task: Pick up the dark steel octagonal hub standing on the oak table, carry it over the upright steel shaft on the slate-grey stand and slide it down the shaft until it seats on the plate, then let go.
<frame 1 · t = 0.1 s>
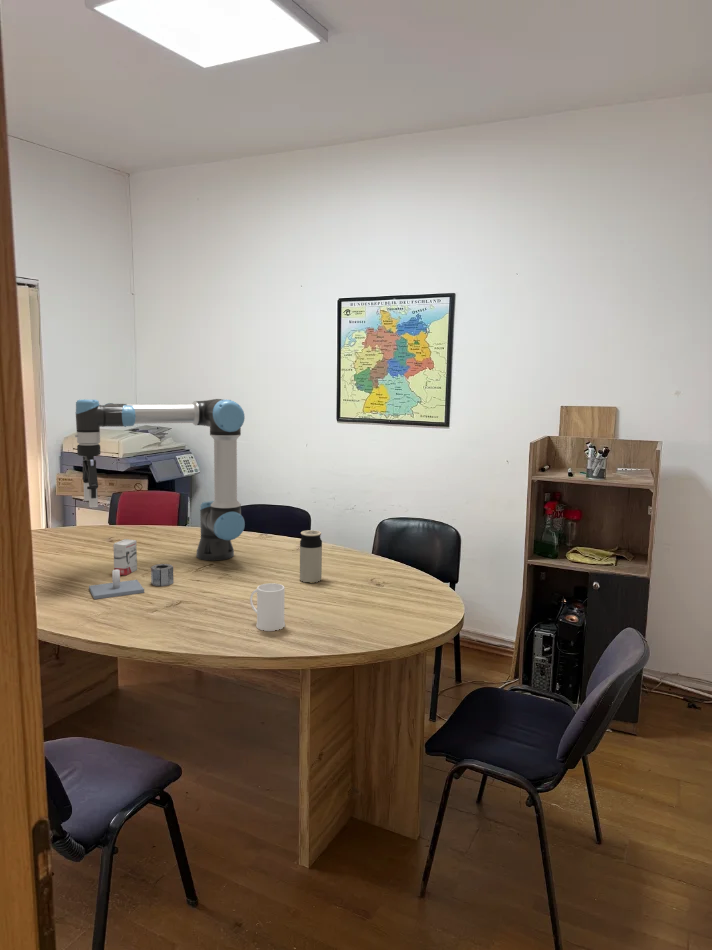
hand: (90, 504, 232), 28 cm above the table, fingers open, 13 cm apart
ink box: (125, 572, 247), on the table
travel mug: (310, 580, 242), on the table
mug: (266, 625, 197), on the table
shaft stand: (116, 590, 225), on the table
hub: (162, 583, 235), on the table
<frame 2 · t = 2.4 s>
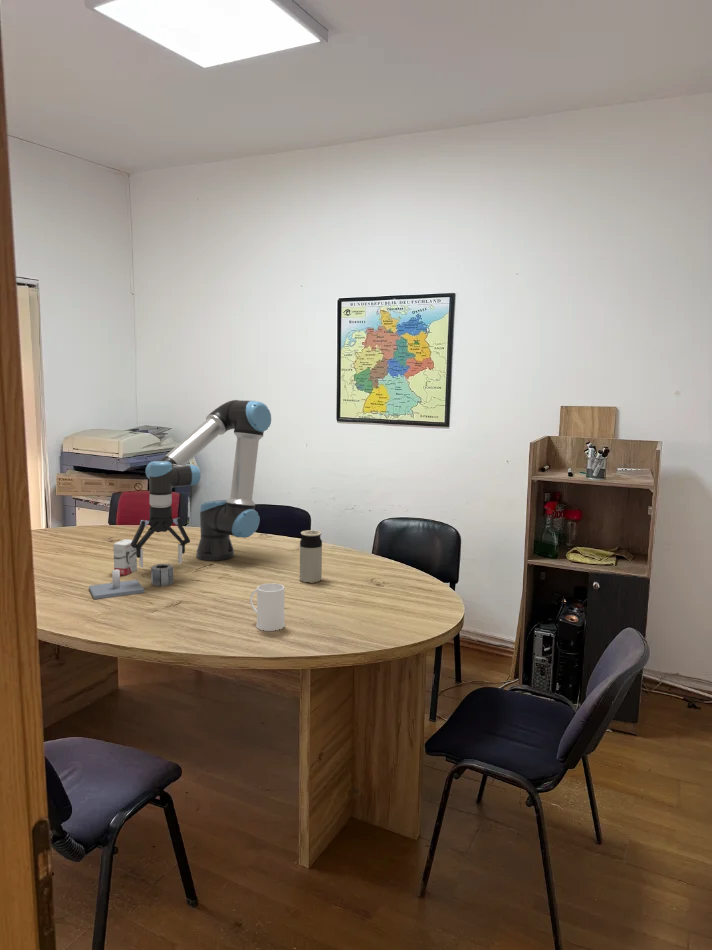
hand: (160, 564, 234), 7 cm above the table, fingers open, 13 cm apart
nothing on the table moved.
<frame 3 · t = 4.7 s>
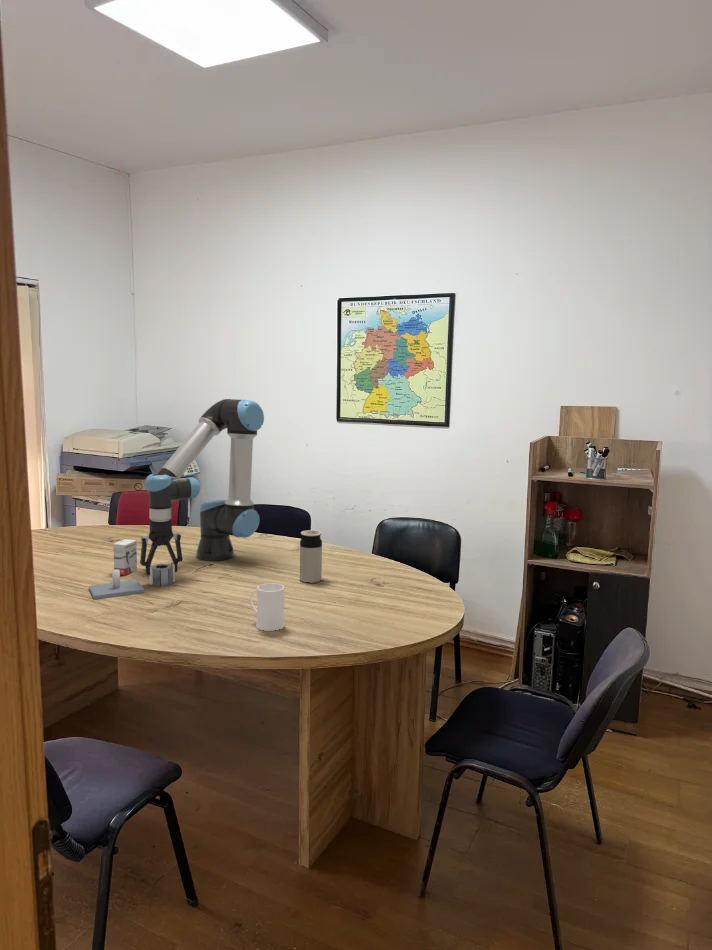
hand: (162, 582, 235), 0 cm above the table, fingers closed on hub, 7 cm apart
hub: (162, 583, 235), on the table, touching gripper
everything else where it was.
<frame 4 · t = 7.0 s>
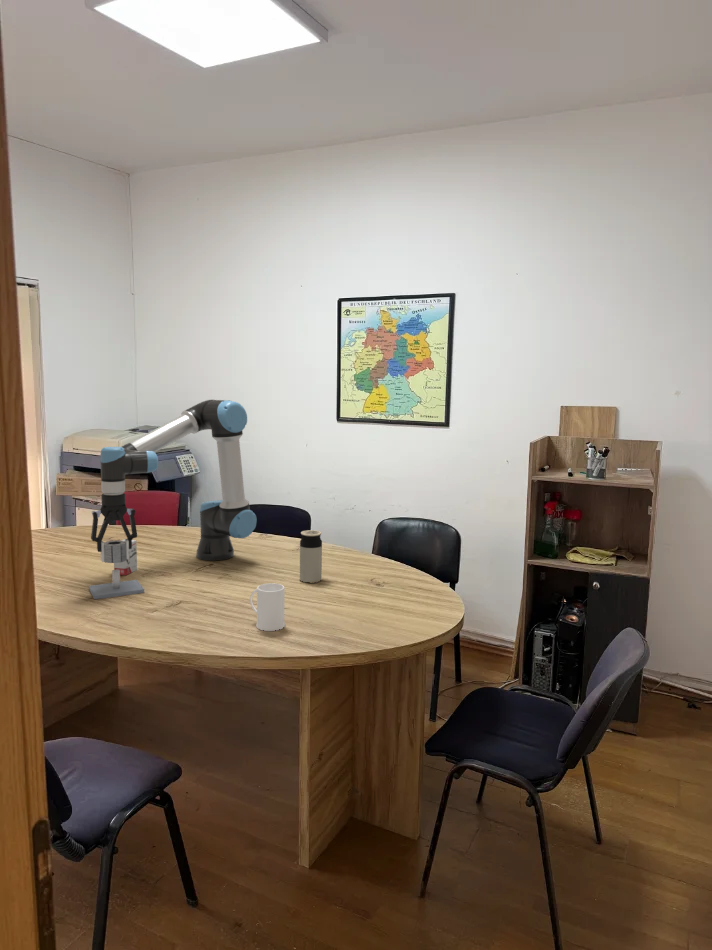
hand: (114, 559, 224), 11 cm above the table, fingers closed on hub, 7 cm apart
hub: (114, 560, 224), point 11 cm above the table, touching gripper
everything else where it was.
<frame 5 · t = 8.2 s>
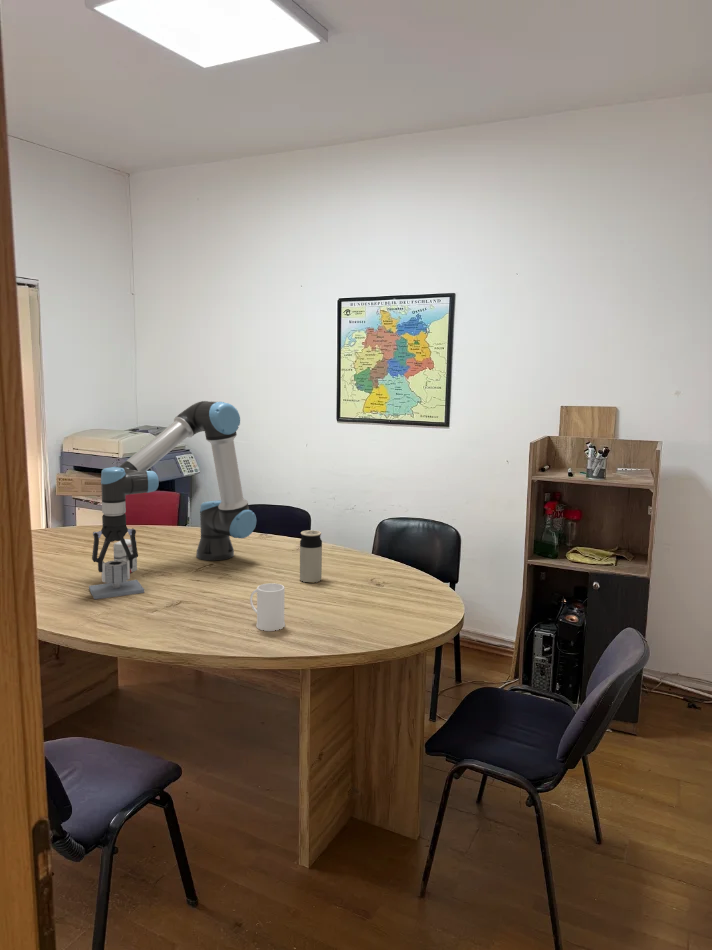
hand: (115, 579, 225), 4 cm above the table, fingers closed on hub, 7 cm apart
hub: (115, 580, 225), point 4 cm above the table, touching gripper
everything else where it was.
when the fingers open (3 cm above the table, at t = 9.3 s): hub drops 1 cm, resting on shaft stand.
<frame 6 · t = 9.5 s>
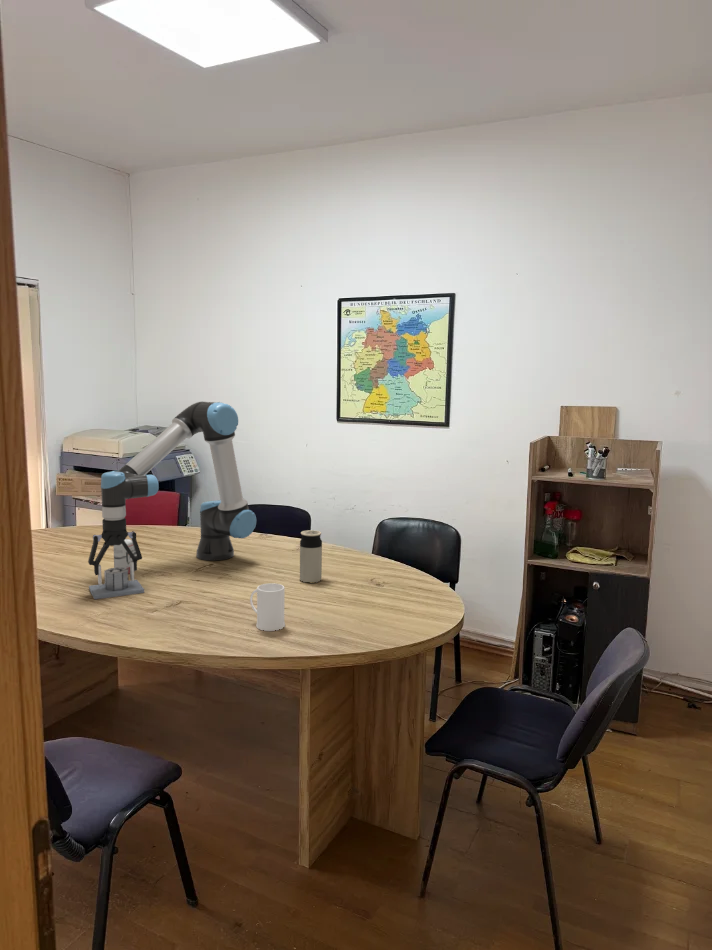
hand: (116, 581, 225), 3 cm above the table, fingers open, 10 cm apart
hub: (116, 587, 225), point 1 cm above the table, touching shaft stand
everything else where it was.
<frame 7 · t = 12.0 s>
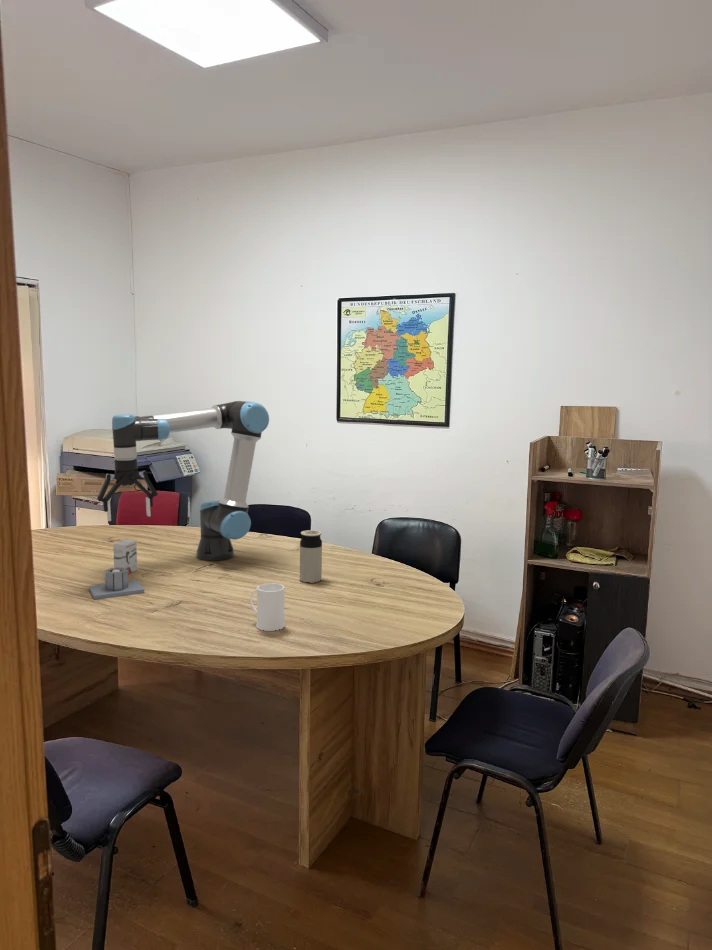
hand: (129, 518, 234), 23 cm above the table, fingers open, 13 cm apart
nothing on the table moved.
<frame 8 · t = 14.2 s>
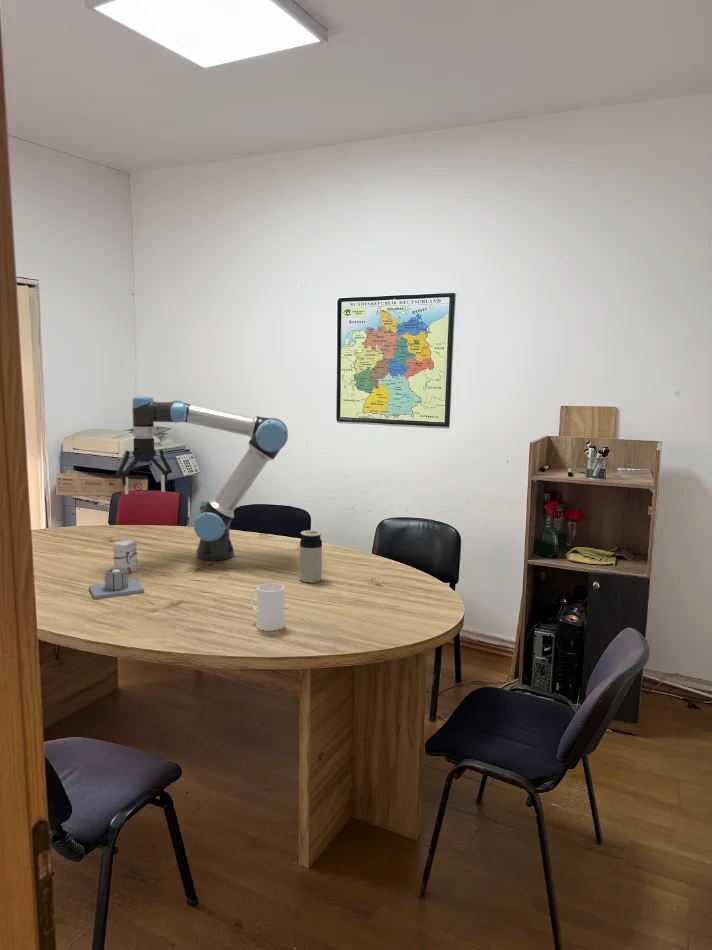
hand: (145, 492, 252), 29 cm above the table, fingers open, 13 cm apart
nothing on the table moved.
at the end: hub 0.1 cm off-centre on the shaft stand, point 1.2 cm above the shaft stand's base; hub tilted 0°; the gripper is holding nothing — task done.
